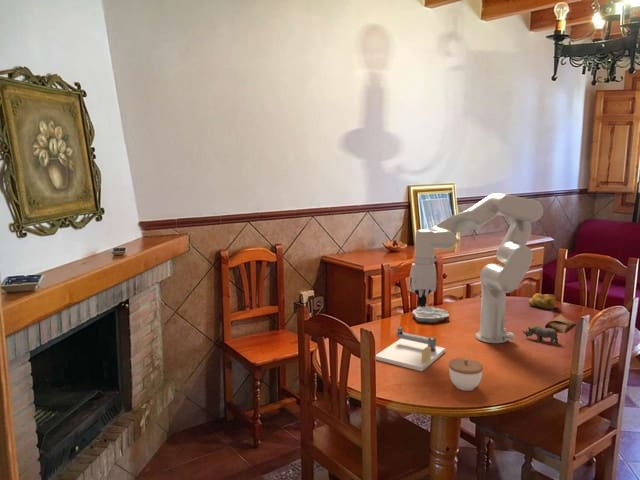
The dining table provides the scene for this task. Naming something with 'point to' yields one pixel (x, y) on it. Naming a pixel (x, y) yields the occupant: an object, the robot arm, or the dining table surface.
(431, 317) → the brain slice
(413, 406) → the dining table surface
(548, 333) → the rhino figurine
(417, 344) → the door board
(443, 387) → the dining table surface
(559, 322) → the sunglasses case
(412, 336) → the bar
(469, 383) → the lidded jar
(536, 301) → the bread roll
